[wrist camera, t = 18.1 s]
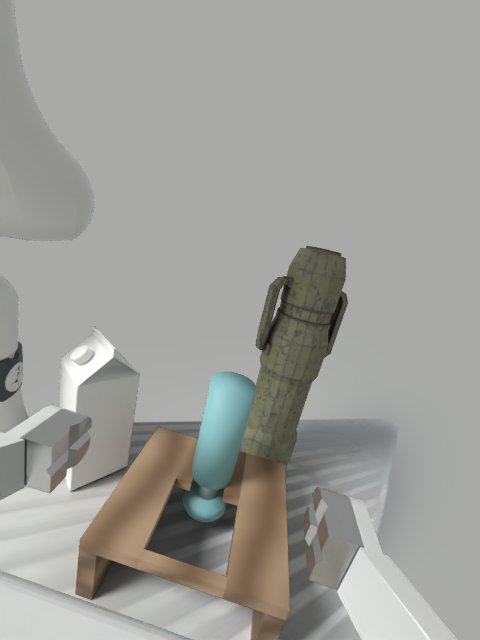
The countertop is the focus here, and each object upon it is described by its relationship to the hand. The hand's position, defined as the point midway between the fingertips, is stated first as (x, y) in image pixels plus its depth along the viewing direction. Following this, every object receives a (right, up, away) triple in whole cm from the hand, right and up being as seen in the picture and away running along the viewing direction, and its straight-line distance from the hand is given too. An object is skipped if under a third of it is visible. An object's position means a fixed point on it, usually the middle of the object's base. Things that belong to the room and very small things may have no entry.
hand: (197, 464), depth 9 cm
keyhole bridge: (-4, -20, +21) cm, 30 cm away
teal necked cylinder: (-3, -17, +24) cm, 29 cm away
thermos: (+5, -19, +35) cm, 40 cm away
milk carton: (-19, -15, +28) cm, 37 cm away
